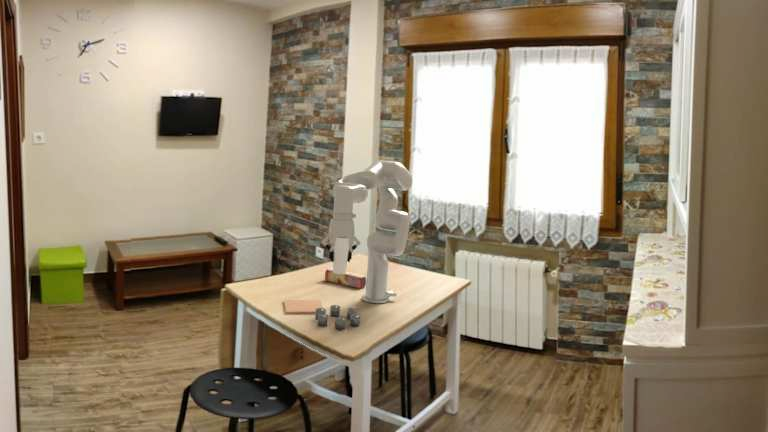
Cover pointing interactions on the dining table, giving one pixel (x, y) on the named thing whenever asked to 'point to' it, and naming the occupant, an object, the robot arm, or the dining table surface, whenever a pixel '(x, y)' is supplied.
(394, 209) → the robot arm
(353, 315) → the spacer posts
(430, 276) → the dining table surface
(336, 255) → the drinking glass
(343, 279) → the snack package
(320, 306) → the terracotta tile
